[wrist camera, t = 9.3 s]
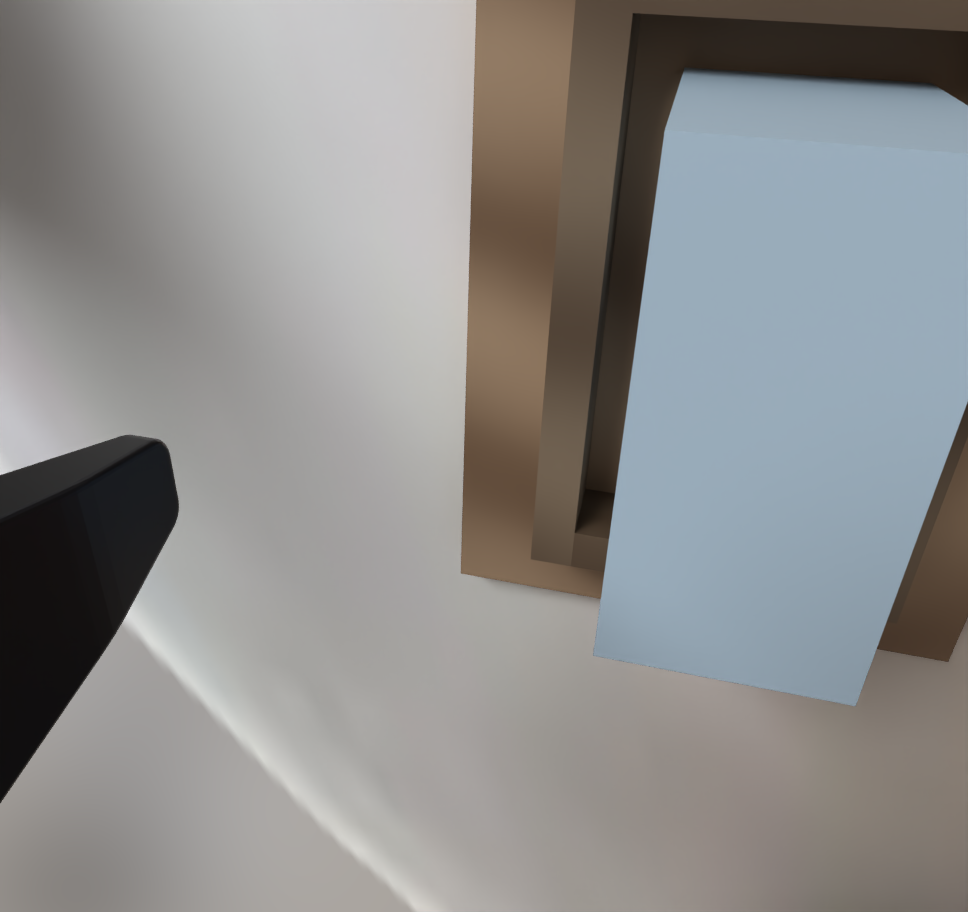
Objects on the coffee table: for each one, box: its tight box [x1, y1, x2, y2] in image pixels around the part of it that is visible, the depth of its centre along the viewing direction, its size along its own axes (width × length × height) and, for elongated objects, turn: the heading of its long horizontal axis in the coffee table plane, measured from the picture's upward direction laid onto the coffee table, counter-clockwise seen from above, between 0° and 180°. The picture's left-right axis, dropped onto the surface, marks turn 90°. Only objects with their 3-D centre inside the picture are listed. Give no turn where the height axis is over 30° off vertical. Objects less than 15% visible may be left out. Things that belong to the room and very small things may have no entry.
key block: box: [593, 67, 968, 706], centre depth 16 cm, size 4×9×7 cm, turn 178°
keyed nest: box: [461, 0, 968, 662], centre depth 18 cm, size 18×13×3 cm
